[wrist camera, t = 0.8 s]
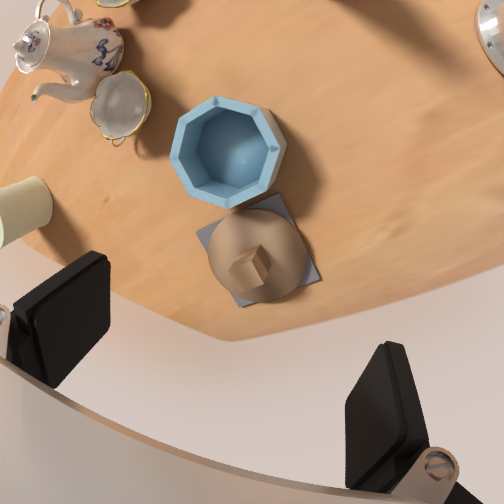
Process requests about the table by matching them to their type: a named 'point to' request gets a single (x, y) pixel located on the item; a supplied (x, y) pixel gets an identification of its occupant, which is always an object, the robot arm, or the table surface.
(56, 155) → the table surface
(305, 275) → the mat
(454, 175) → the table surface
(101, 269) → the robot arm
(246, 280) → the lid
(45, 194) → the can
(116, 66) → the chinaware
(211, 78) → the table surface
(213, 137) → the bowl
